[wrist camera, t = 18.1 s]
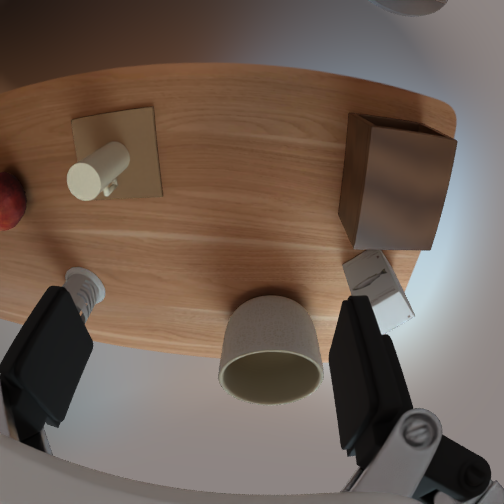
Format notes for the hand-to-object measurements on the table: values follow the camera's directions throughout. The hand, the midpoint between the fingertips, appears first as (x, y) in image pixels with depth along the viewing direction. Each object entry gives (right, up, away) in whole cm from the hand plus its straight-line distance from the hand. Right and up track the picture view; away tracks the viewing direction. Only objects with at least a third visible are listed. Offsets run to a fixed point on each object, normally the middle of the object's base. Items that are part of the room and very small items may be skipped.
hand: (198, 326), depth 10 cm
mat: (-19, +17, +33) cm, 42 cm away
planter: (+5, -10, +50) cm, 51 cm away
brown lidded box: (+21, +15, +33) cm, 42 cm away
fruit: (-43, +14, +36) cm, 58 cm away
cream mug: (-19, +17, +32) cm, 41 cm away
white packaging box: (+22, 0, +43) cm, 48 cm away
